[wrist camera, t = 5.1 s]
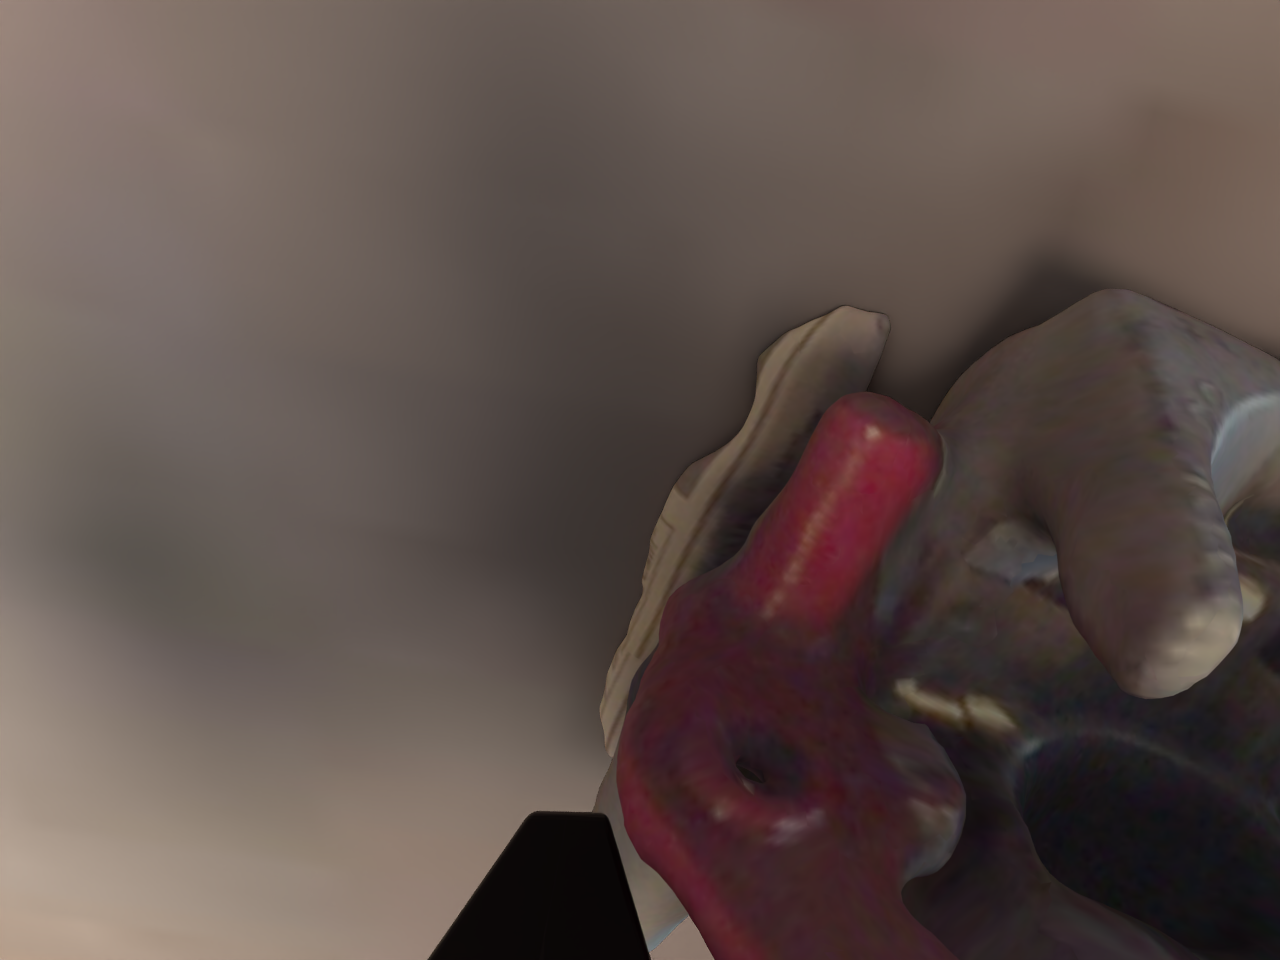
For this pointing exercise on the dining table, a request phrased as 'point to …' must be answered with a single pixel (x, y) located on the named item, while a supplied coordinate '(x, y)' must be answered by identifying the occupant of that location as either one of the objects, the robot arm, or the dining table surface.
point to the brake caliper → (967, 657)
